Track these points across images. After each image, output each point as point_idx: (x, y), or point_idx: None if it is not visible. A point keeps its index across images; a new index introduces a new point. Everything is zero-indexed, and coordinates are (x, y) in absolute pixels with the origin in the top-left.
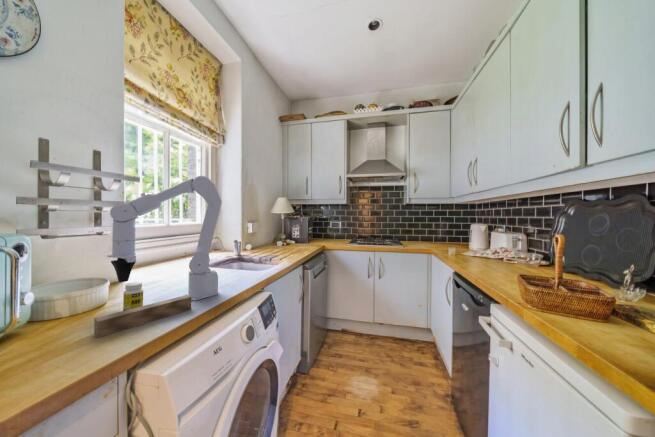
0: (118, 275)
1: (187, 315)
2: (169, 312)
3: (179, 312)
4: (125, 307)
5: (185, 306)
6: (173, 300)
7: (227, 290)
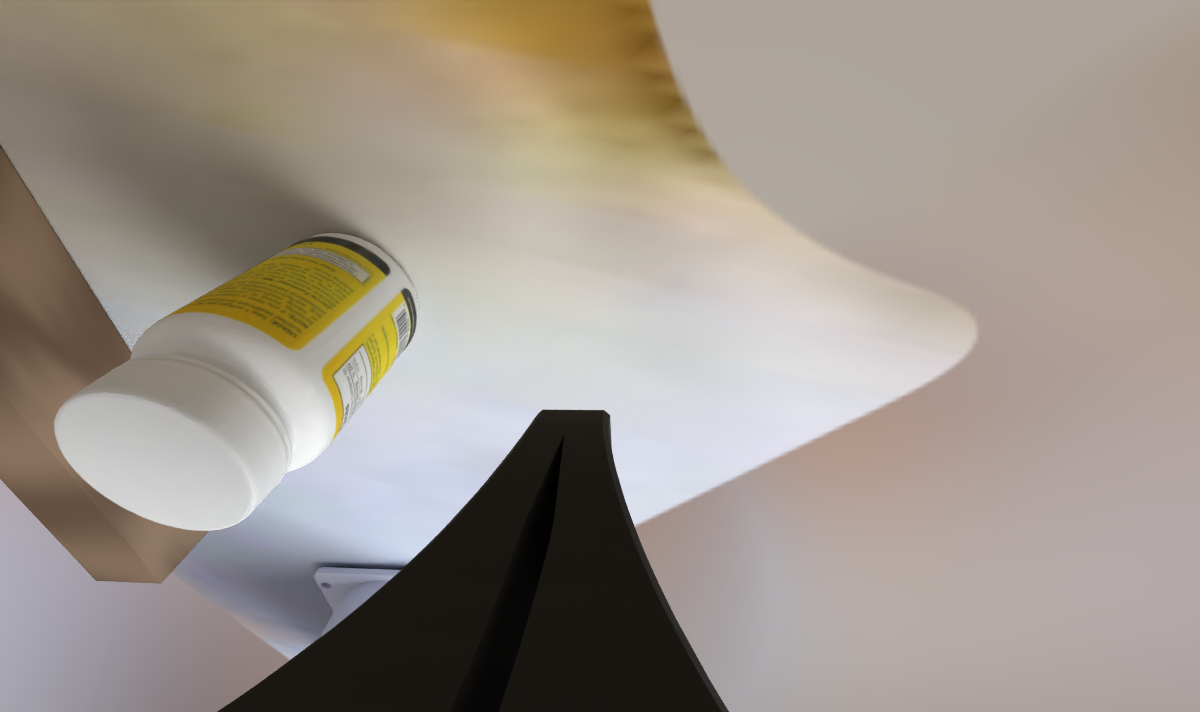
0: (496, 482)
1: None
2: None
3: None
4: (274, 256)
5: None
6: (42, 499)
7: None
